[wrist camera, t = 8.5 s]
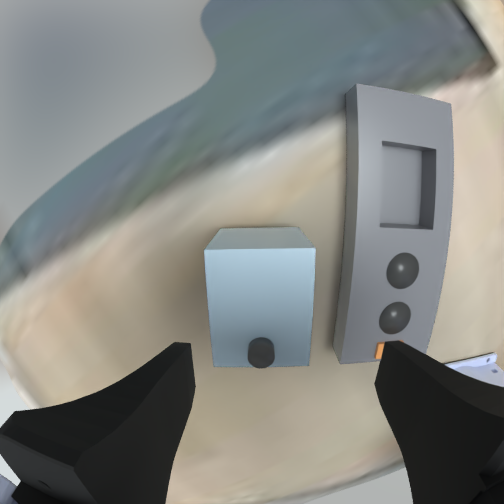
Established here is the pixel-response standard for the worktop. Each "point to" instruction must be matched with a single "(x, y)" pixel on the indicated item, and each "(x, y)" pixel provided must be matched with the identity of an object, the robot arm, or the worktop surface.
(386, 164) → the grey control panel
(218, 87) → the worktop surface
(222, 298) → the block
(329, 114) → the worktop surface
